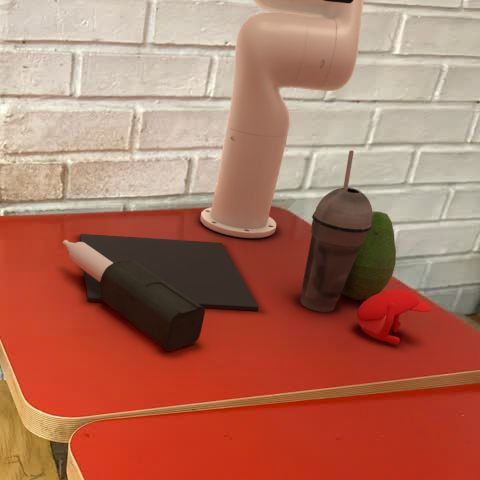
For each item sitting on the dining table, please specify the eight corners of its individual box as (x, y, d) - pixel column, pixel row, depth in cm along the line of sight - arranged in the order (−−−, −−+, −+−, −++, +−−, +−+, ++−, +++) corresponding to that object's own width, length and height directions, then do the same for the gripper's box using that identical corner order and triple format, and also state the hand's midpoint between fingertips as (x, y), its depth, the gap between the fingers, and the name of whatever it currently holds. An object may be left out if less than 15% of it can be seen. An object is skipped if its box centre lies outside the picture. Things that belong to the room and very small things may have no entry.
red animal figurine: (360, 345, 84) (376, 300, 81) (345, 321, 89) (359, 278, 86) (425, 350, 84) (443, 305, 81) (406, 326, 89) (422, 284, 86)
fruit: (335, 308, 92) (362, 221, 85) (313, 283, 98) (337, 200, 92) (391, 311, 93) (422, 225, 86) (367, 285, 100) (393, 204, 93)
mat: (80, 237, 105) (80, 233, 105) (221, 246, 108) (221, 242, 107) (87, 302, 87) (88, 297, 87) (257, 311, 89) (258, 306, 89)
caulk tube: (172, 314, 75) (48, 227, 90) (165, 354, 78) (47, 262, 93) (206, 304, 77) (81, 221, 93) (198, 342, 80) (78, 255, 96)
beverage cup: (347, 320, 89) (398, 164, 78) (290, 311, 90) (333, 155, 79) (342, 297, 95) (388, 149, 84) (288, 288, 96) (328, 140, 85)
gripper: (323, -221, 68) (279, -8, 78) (386, -255, 55) (324, 4, 65) (396, -211, 69) (343, -1, 79) (474, -243, 56) (400, 12, 66)
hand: (335, 1), depth 72 cm, fingers closed
